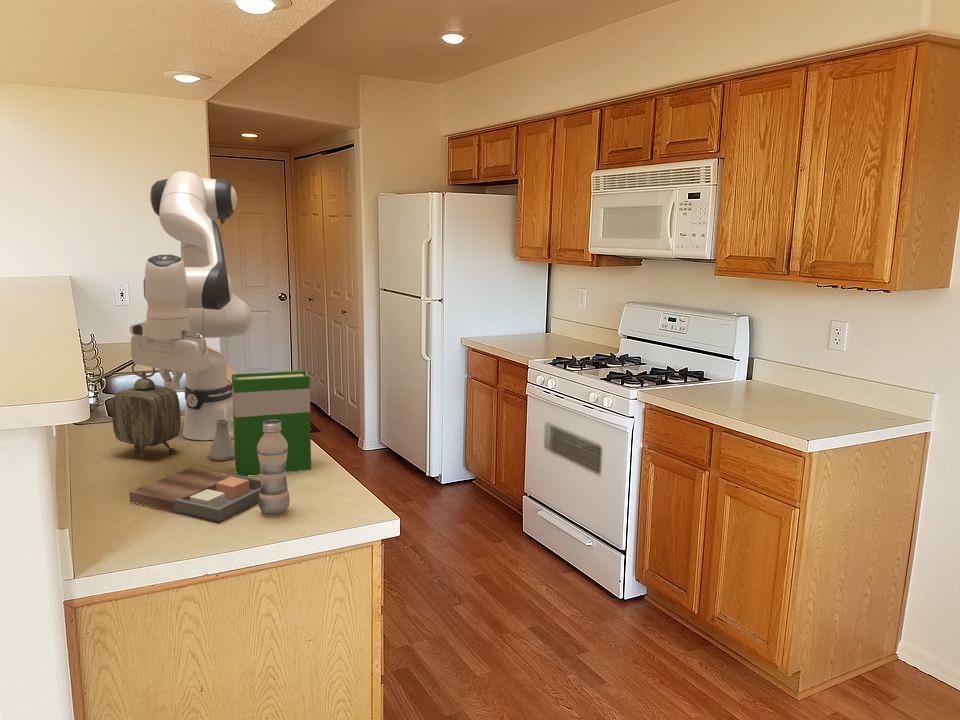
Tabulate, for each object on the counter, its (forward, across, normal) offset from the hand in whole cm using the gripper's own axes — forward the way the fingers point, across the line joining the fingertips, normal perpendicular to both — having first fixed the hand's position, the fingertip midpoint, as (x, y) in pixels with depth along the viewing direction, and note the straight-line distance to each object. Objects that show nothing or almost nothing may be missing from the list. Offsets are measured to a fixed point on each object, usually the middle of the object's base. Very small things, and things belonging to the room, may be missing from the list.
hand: (172, 388), depth 167 cm
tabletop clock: (+24, +22, -11) cm, 34 cm away
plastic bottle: (+22, -31, +4) cm, 39 cm away
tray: (+22, -19, +5) cm, 30 cm away
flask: (+24, +4, -19) cm, 31 cm away
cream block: (+22, -18, +10) cm, 30 cm away
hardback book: (+24, -13, -18) cm, 33 cm away
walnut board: (+23, -7, +5) cm, 24 cm away
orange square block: (+22, -18, +1) cm, 28 cm away
